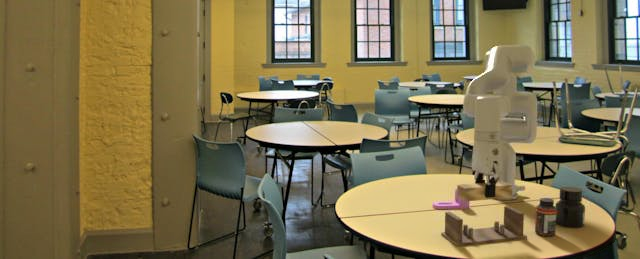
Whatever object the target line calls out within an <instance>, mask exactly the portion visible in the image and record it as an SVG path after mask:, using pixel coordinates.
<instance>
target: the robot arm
mask: <svg viewBox="0 0 640 259" xmlns="http://www.w3.org/2000/svg"><path fill="white" fill-rule="evenodd" d="M484 63H485V64H484V65H485V70H484V72H483V73H481V74H480V75H478V76H477V77H475V78H474V79H473V80H472V81H470V83H469V84H468V85H467V87H466V89H465V90H466V91H465V94H464V98H463V104H462V110H463V113H464V114H465V115H466V116H468V117H469V118H474V126H473V127H474V129H473V130H474V133H473V146H472V156H471V158H472V159H471V165H470V166H471V169H472V172H473V175H474V180H475V181H474V183H487V184H485V197H487V198H488V197H495V190H496V184H497V182H500V181H504V182H506V183H509V184H512V185H513V187H512V198H500V199H498V200H499V201H500V200H501V201H502V200H503V201H510V200H511V201H513V200H516V199H518V198H519V194H518V192H519V191H520V192H522V191H523V192H524V191H525V190H526V186H525V185H517V184H516V162H517V161H516V159H517V155H516V151H515V149H514V148H513V146H512V145H511V144H512V143H515V144H531V143H534V142H535V141H536V138H537V132H538V99H537V96H536V94H535V93H534V92H531V91H518V89H517V85H518V83H517V82H518V79H517V76H516V75H515V74H529V73H531V72H532V71H533V70H534V68H535V67H536V66H535V65H536V55H535V52H534V50H533V49H532V47H531V46H529V45H528V44H527V45H526V44H504V45H503V44H502V45H501V44H500V45H496V46H494V47H493V48H491V49H490V50H489V51H487V52H486V53H485V55H484ZM490 92H492V93H493V94H492V93H490ZM511 117H512V118H511ZM514 117H515V118H514ZM516 117H522V118H516Z"/></svg>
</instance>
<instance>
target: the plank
mask: <svg viewBox="0 0 640 259" xmlns="http://www.w3.org/2000/svg"><path fill="white" fill-rule="evenodd" d="M485 184H487V182H485V183H475V182H474V183H463V184H457V187H456V188H457V197H458V198H460V199H462V200H463V201H469V202H473V201H484V200H485V201H487V200H499V199H500V198H512V187H513V185H512V184H509V183H506V182H504V181H500V182H497V184H496V190H495V197H488V198H487V197H485Z"/></svg>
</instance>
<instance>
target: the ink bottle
mask: <svg viewBox="0 0 640 259" xmlns="http://www.w3.org/2000/svg"><path fill="white" fill-rule="evenodd" d="M554 206H555V207H556V209H557V212H556V225H559V226H562V227H565V228H580V227H583V226H584V225H585V219H586V218H585V217H586V206H585V205H584V204H583V189H582V188H579V187H576V186H575V187H574V186H561V187H559V200H558V201H557V202H555V205H554Z"/></svg>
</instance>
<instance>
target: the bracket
mask: <svg viewBox="0 0 640 259" xmlns="http://www.w3.org/2000/svg"><path fill="white" fill-rule="evenodd" d="M432 208H433V209H435V210H436V209H437V210H455V209H456V210H459V209H463V210H464V209H470V201H463V200H462V199H460V198H458V197H457V187H456V189H455V191H454V200H452V201H451V200H450V201H449V200H448V201H447V200H446V201H443V200H442V201H434V202H432Z"/></svg>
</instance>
